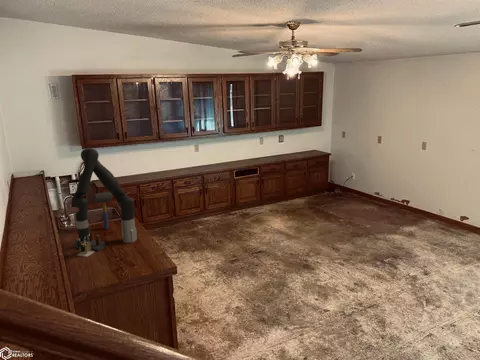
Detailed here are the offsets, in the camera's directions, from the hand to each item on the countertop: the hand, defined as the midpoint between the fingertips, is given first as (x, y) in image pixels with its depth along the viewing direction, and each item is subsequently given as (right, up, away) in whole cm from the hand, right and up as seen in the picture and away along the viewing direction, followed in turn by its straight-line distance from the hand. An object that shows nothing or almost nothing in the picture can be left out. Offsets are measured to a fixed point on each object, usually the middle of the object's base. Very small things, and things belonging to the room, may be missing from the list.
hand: (85, 249), depth 248 cm
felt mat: (0, -3, +1) cm, 3 cm away
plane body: (-1, 0, +10) cm, 10 cm away
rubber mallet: (-1, +8, +43) cm, 43 cm away
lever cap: (0, 0, 0) cm, 0 cm away
